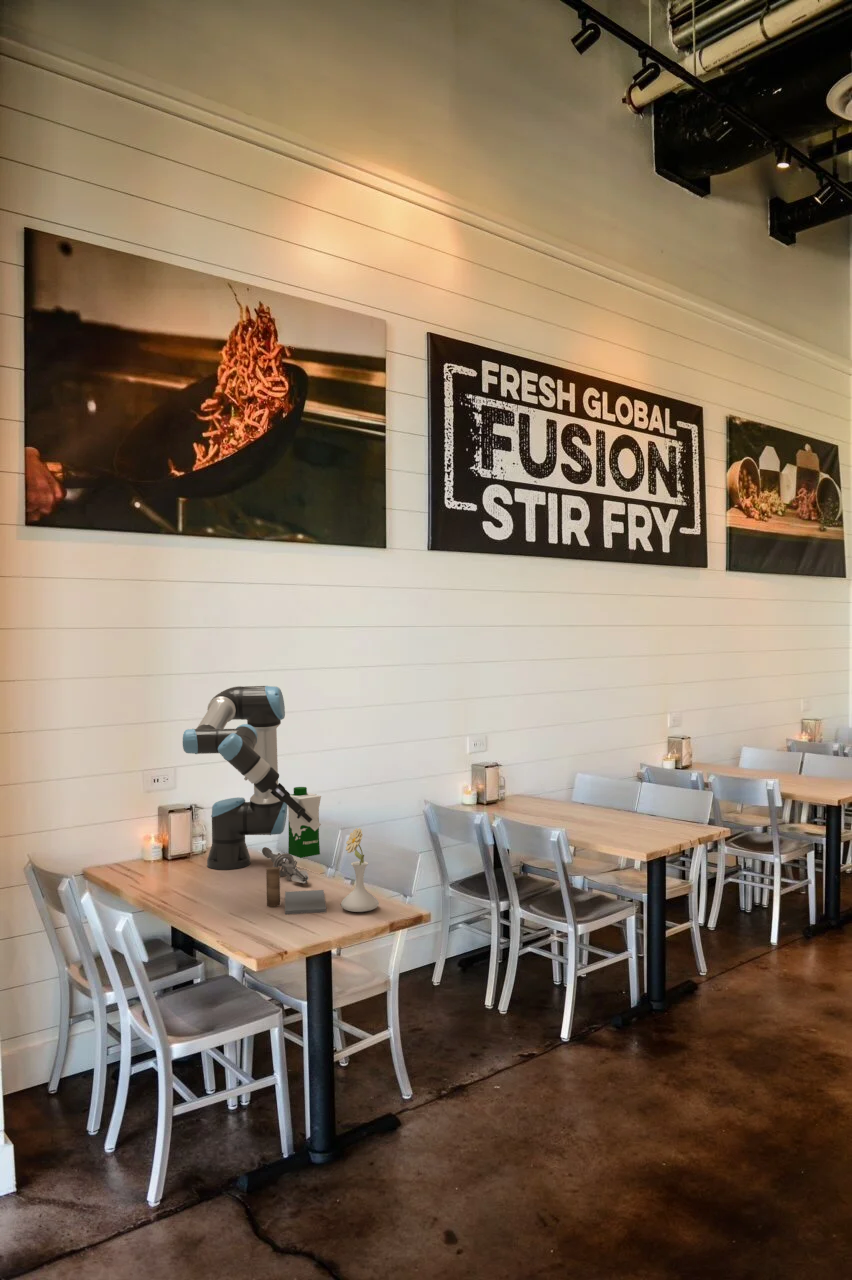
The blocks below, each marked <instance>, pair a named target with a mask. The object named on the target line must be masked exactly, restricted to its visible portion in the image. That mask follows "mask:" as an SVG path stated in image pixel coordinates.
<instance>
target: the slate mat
mask: <svg viewBox="0 0 852 1280" xmlns="http://www.w3.org/2000/svg"><path fill="white" fill-rule="evenodd" d="M284 894H285V895H284V896H285V897H284V912H285V913H284V914H285V915H294V914H295V915H297V914H298V915H299V914H315V913H327V905H326V899H325V891H324V889H316V890H314V889H313V890H312V889H311V890H297V891H296V890H294V891H293V890H292V891H285V893H284Z"/></svg>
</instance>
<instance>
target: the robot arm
mask: <svg viewBox="0 0 852 1280" xmlns="http://www.w3.org/2000/svg"><path fill="white" fill-rule="evenodd" d="M285 709H286V708H285V699H284V695H283V692H282V689H281V688H280V687H278V686H274V685H273V686H270V685H255V686H254V685H252V686H250V685H249V686H241V685H240V686H239V685H238V686H233V687H229V688H226V689H225V690H223V691H220V692H218V693H217V694H216V695H215V696H213V697H212V699H210V701H209V703H208V705H207V709H206V710H207V711H206V713H205V714H204V716H203V717H202V719H201V721H200V722H199V723H198V726H197V727H196V728H192V729H191V728H190V729H189V728H187V729H185V730H184V731H183V734H182V750H183V751H184V752H185V753H186V754H195V755H203V754H220V756H221V757H222V758H223V759H224V761H226V762H228V763H229V764H230V765H231V766H232V767H233V768H234V769H235V770H237V771H238V772H239V773H240V774H241V775H242V776H243V777H244V781H249V782H250V783H251V784H253V794H252V796H250V798H249V800H250V801H249V802H248V801H246V799H245V797H240V796H239V797H230V798H225V799H222V800H218V801H216V802H215V803H214V804H213V805H212V807H211V816H210V817H211V846H210V849H209V853H208V856H207V860H206V864H207V865H206V866H207V867H208V868H209V869H213V870H234V869H241V868H246V867H247V866H249V865H250V864H251V855H250V853H249V852H250V851H249V848H248V846H247V843H246V836H272V835H273V836H275V835H281V834H282V833H283V832H284V830H285V826H286V822H287V814H288V806H289V807H290V808H291V809H292V810H293V811H294V812H295V813H297V814H298V816H297V818H298V819H299V818H301V819H302V820H303V821H304V822H305V823H306V824H308V825H309V826H310V827H311V828H312V829H313V830H314V831H316V830H317V829H318V827H319V828H320V826H321V825H322V824H321V823H320V821H319V822H318V821H317V820H316V819H315V818H314V817H313V816H311V815H310V814H309V813H308V812H307V811H306V810H305V809H304V808H302V807H301V806H300V805H299V804H298V803H297V802H296V801H295V800H294V799H293V798H292V797H291V796H290V795H291V793H290V792H289V791H288V790H286V788H285V786H283V784H281V783H280V782H279V779H280V774H279V770H278V769H279V768H278V767H279V766H278V765H279V763H278V738H277V737H278V736H277V731H278V730H277V728H278V727H279V726H280V725H281V723H282V722H281V721H282V720H284V719H285V715H286V710H285ZM232 720H233V721H234V720H237V721H238V720H240V721H241V720H244V721H245V720H246V722H247V723H243V724H241V725H239V726H237V727H236V728H225V727H226V725H228V723H229V722H231V721H232ZM300 809H301V810H300ZM299 810H300V811H299ZM298 811H299V812H298Z"/></svg>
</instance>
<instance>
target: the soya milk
mask: <svg viewBox="0 0 852 1280" xmlns="http://www.w3.org/2000/svg"><path fill="white" fill-rule="evenodd" d="M290 796H291V797H292V798H293V799H294V800H295V801H296V802H297V803H298V804H299V805H300V806H301V807H302V808H304V809H305V810H306V811H307V812H308V813H309V814H310V815H311V816H313V817H314V818H315V819H316V820H317V821H318V822H319V823H320V803H321V799H322V796H321V795H319V794H316V793H311V792H308V788H307V787H306V786H295V787H293V794H292V793H290ZM287 806H288V805H287ZM300 810H301V809H300ZM300 810H299V811H300ZM299 811H298V812H299ZM287 813H288V849H287V850H288V852H287V853H288V854H290V855H292V856H293V857H296V858H300V859H302V858H308V857H313V856H319V855H321V848H320V826H319V827H318V829H317V830H316V831H314V830H313V829H312V828H311V827H310V826H309V825H308V824H306V823H305V822H304V821H303V820H302V819H301V818H299V819H298V818H297V816H298V814H297V813H295V812H294V811H293V810H292V809H291V808H290V807H289V806H288V807H287Z"/></svg>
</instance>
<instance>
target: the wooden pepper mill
mask: <svg viewBox="0 0 852 1280" xmlns="http://www.w3.org/2000/svg"><path fill="white" fill-rule="evenodd" d="M280 870H281V867H279V866H278V867H273V866H270V867H267V868H266V870H265V871H266V875H265V877H266V879H265V880H266V907H270V908H277V907H280V905H281V882H280V881H281V876H280Z"/></svg>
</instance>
